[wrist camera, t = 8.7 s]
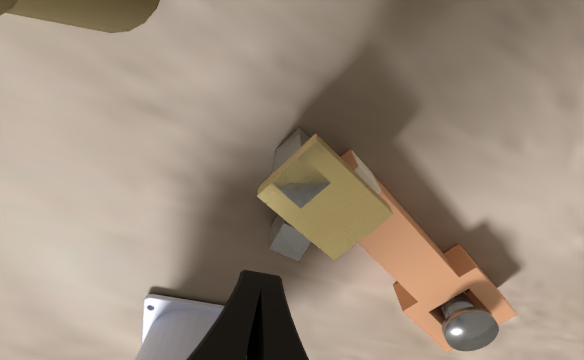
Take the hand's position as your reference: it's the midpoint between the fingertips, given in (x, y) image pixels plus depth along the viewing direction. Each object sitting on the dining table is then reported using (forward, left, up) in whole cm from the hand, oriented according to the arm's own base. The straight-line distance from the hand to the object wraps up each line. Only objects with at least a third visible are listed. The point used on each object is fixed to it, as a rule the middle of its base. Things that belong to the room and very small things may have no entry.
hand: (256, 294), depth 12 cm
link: (-3, -10, -10) cm, 14 cm away
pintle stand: (-2, -7, -10) cm, 13 cm away
